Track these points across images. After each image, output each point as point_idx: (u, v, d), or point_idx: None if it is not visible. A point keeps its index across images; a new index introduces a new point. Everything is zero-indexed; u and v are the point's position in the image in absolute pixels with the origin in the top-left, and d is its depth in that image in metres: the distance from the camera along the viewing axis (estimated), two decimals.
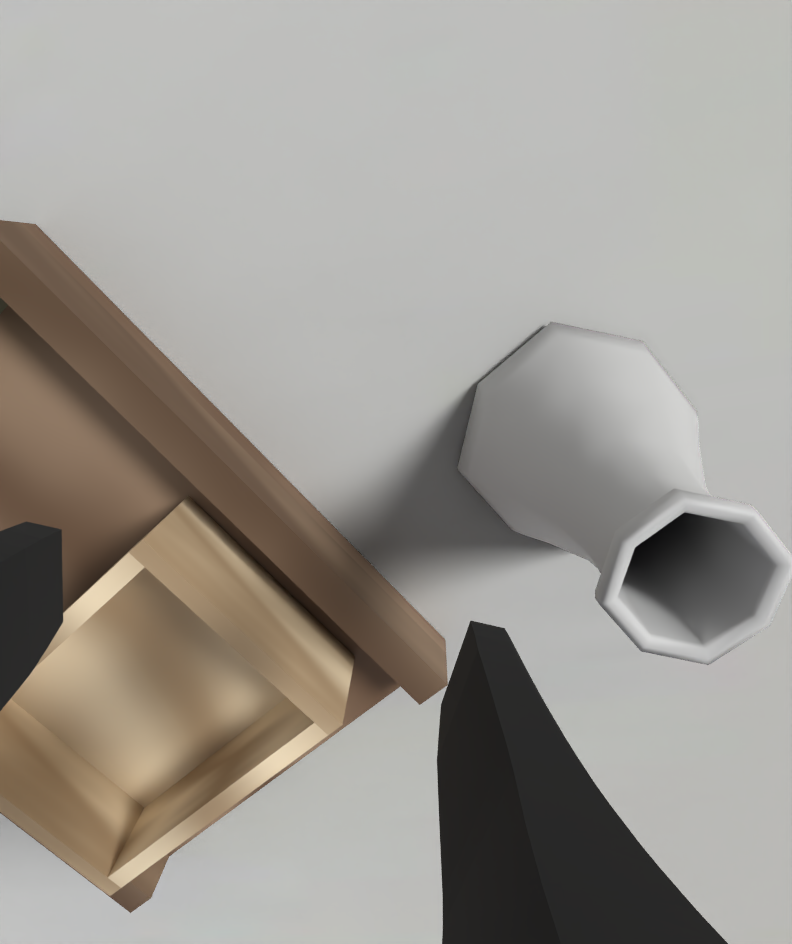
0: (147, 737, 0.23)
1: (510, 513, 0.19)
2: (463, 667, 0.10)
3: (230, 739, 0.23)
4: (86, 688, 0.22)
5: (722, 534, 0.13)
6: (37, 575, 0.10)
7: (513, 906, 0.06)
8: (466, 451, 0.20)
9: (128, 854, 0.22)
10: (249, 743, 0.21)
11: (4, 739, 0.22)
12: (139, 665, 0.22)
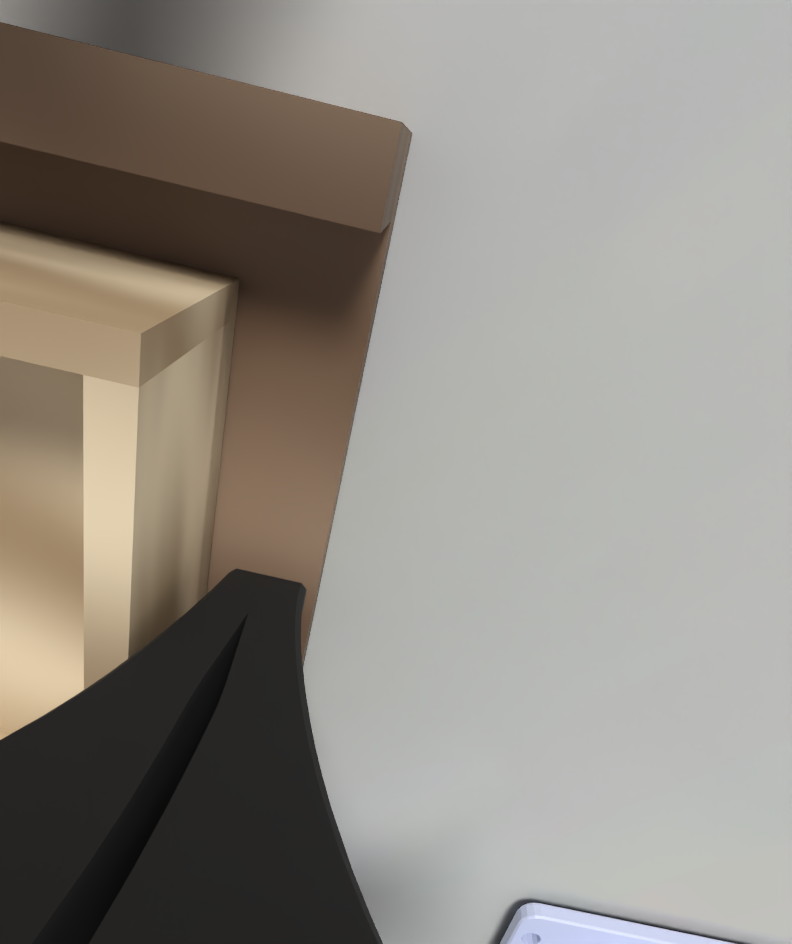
0: (55, 651, 0.12)
1: None
2: None
3: None
4: None
5: None
6: None
7: None
8: None
9: None
10: None
11: None
12: None
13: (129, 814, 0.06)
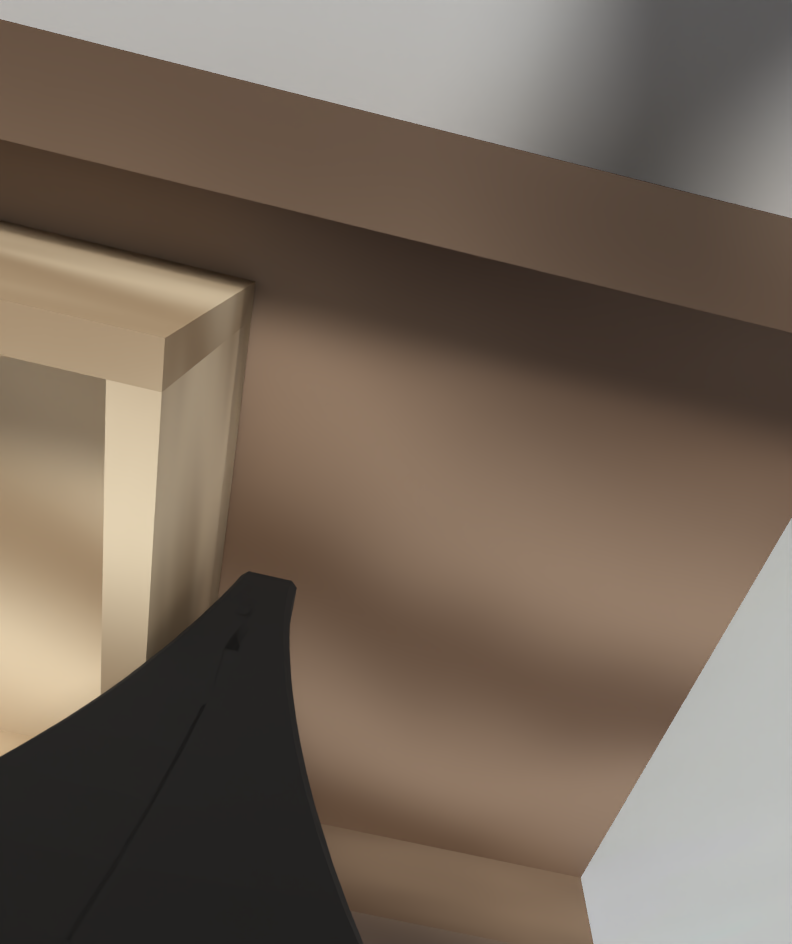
0: (67, 654, 0.12)
1: None
2: None
3: None
4: None
5: None
6: None
7: None
8: None
9: None
10: None
11: None
12: None
13: None
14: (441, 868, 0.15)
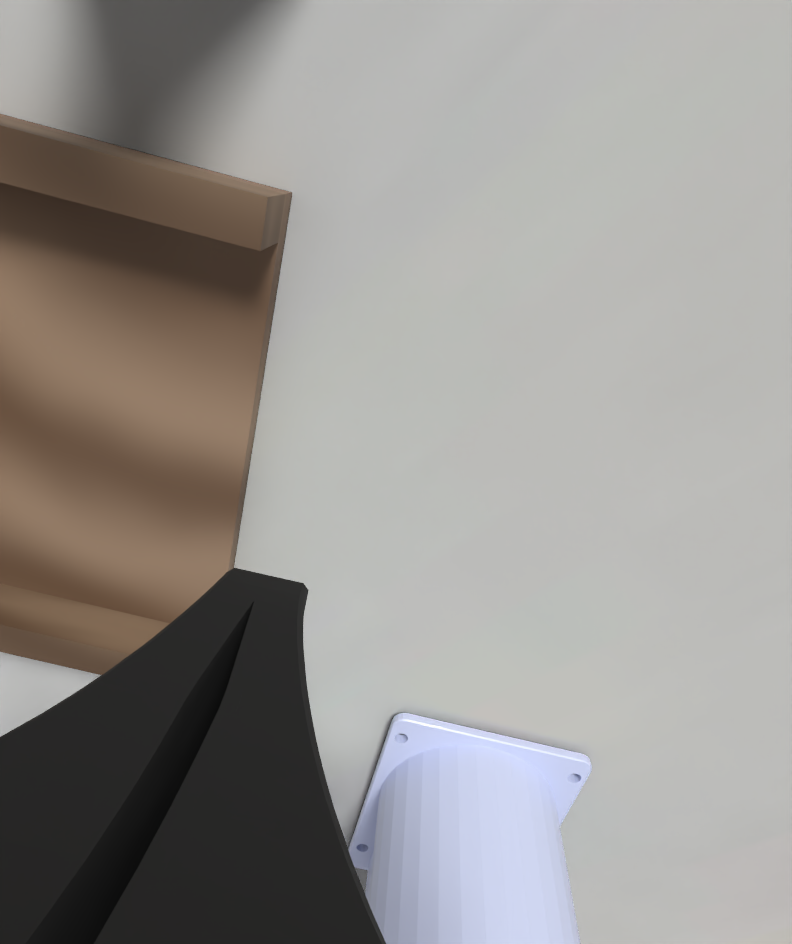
0: None
1: None
2: None
3: None
4: None
5: None
6: None
7: None
8: None
9: None
10: None
11: None
12: None
13: (125, 813, 0.06)
14: (114, 620, 0.22)
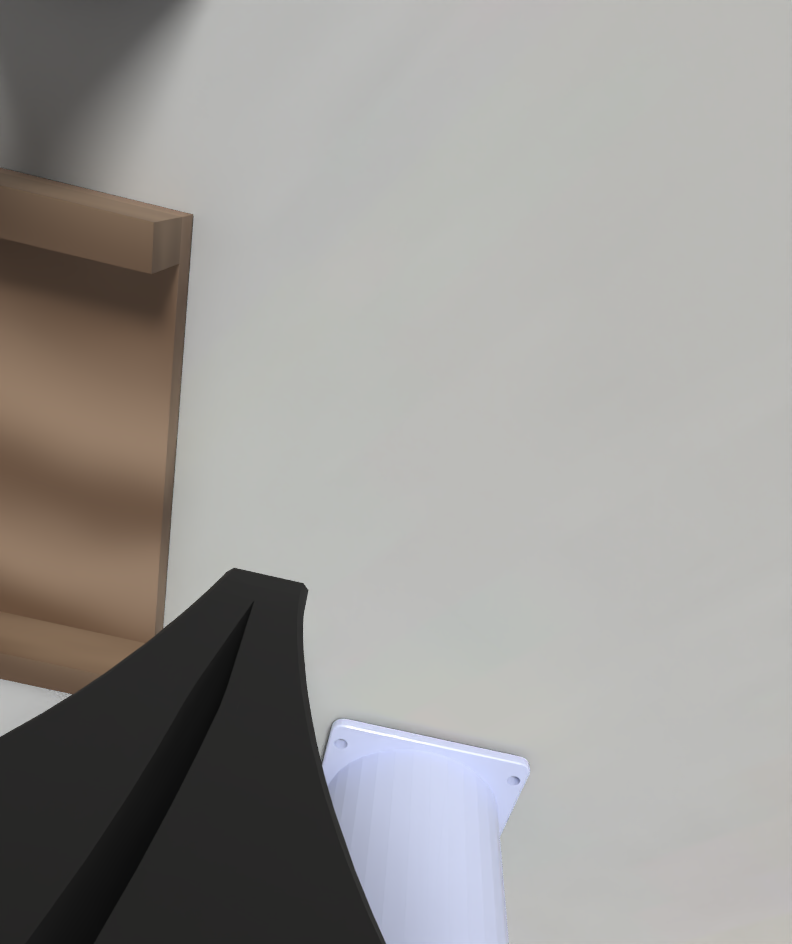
0: None
1: None
2: None
3: None
4: None
5: None
6: None
7: None
8: None
9: None
10: None
11: None
12: None
13: (125, 814, 0.06)
14: (50, 632, 0.22)
